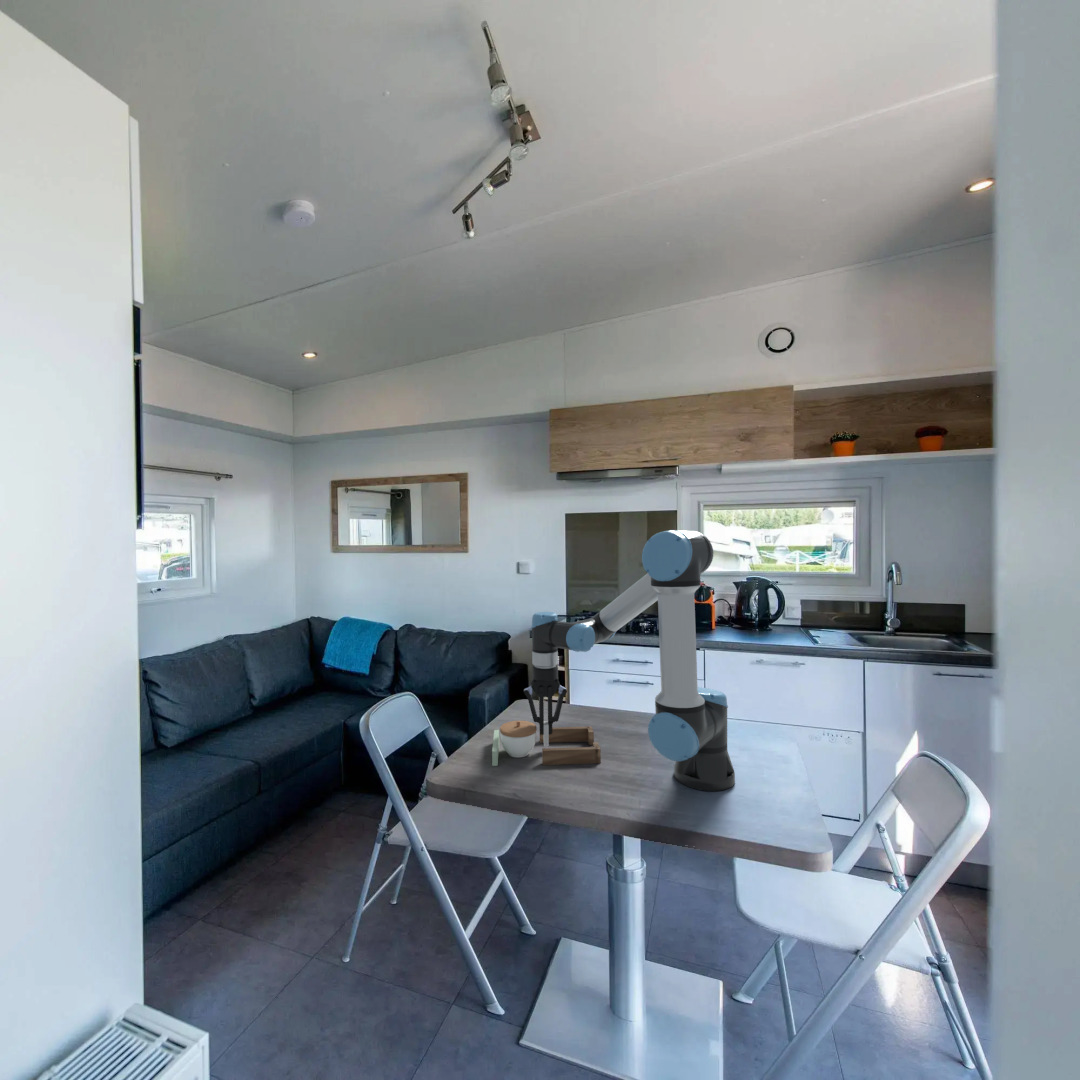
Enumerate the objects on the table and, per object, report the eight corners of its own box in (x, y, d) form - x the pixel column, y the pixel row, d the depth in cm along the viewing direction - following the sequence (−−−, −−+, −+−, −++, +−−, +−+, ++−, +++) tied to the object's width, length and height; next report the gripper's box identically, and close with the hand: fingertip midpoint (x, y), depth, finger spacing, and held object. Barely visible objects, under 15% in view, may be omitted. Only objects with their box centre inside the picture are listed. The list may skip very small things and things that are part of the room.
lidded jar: (513, 743, 159) (512, 712, 159) (543, 750, 154) (543, 718, 154) (493, 756, 150) (492, 724, 150) (524, 764, 145) (524, 730, 145)
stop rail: (497, 765, 144) (497, 751, 144) (492, 765, 144) (492, 751, 144) (499, 742, 160) (499, 729, 160) (494, 742, 160) (494, 729, 160)
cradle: (600, 763, 145) (600, 748, 145) (542, 765, 144) (542, 750, 144) (591, 739, 162) (591, 726, 162) (539, 740, 161) (539, 727, 161)
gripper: (565, 661, 156) (566, 739, 157) (522, 662, 156) (523, 740, 156) (568, 668, 149) (569, 749, 149) (523, 669, 148) (524, 750, 149)
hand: (546, 744), depth 153 cm, fingers closed
